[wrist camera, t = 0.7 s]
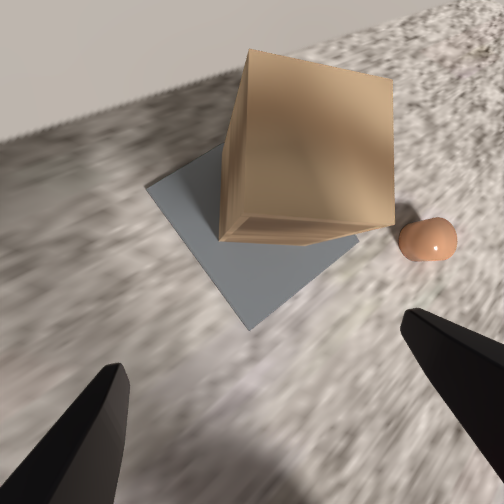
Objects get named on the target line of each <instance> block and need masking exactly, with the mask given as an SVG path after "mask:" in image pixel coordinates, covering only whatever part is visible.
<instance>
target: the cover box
mask: <svg viewBox="0 0 504 504" xmlns="http://www.w3.org/2000/svg"><path fill="white" fill-rule="evenodd" d="M391 225H395V198H394V136H393V80H392V79H387V78H383V77H378V76H373V75H369V74H364V73H359V72H355V71H350V70H346V69H341V68H336V67H332V66H327V65H323V64H318V63H313V62H309V61H304V60H299V59H295V58H290V57H286V56H281V55H276V54H272V53H267V52H262V51H257V50H253V49H249V51H248V55H247V59H246V62H245V66H244V70H243V74H242V78H241V82H240V85H239V89H238V93H237V97H236V101H235V105H234V109H233V112H232V116H231V120H230V124H229V128H228V132H227V135H226V139H225V143H224V147H223V151H222V167H221V193H220V218H219V241H222V242H240V243H258V244H276V245H294V246H307V245H311V244H315V243H320V242H324V241H328V240H332V239H337V238H341V237H345V236H349V235H353V234H358V233H362V232H366V231H370V230H375V229H379V228H383V227H387V226H391Z"/></svg>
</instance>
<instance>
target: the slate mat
mask: <svg viewBox="0 0 504 504" xmlns="http://www.w3.org/2000/svg"><path fill="white" fill-rule="evenodd" d="M224 143H225V142H224ZM224 143H222V144H220V145H219V146H217V147H215V148H214V149H212V150H210V151H209V152H207V153H205V154H204V155H202V156H200V157H199V158H197V159H195V160H194V161H192V162H190V163H189V164H187V165H185V166H184V167H182V168H180V169H179V170H177V171H175V172H174V173H172V174H170V175H169V176H167V177H165V178H163V179H162V180H160V181H158V182H157V183H155V184H153V185H152V186H150V187H148V188H147V189H146V190H147V192H148V193H149V194H150V196H151V197H152V198H153V200H154V201H155V203H156V204H157V205H158V207H159V208H160V209H161V211H162V212H163V214H164V215H165V216H166V218H167V219H168V220H169V222H170V223H171V225H172V226H173V227H174V229H175V230H176V231H177V233H178V234H179V236H180V237H181V238H182V240H183V241H184V242H185V244H186V245H187V247H188V248H189V249H190V251H191V252H192V253H193V255H194V256H195V258H196V259H197V260H198V262H199V263H200V264H201V266H202V267H203V268H204V270H205V271H206V273H207V274H208V275H209V277H210V278H211V279H212V281H213V282H214V284H215V285H216V286H217V288H218V289H219V290H220V292H221V293H222V295H223V296H224V297H225V299H226V300H227V301H228V303H229V304H230V306H231V307H232V308H233V310H234V311H235V312H236V314H237V315H238V317H239V318H240V319H241V321H242V322H243V323H244V325H245V326H246V328H247V329H248V330H249V331H250V330H251V329H253V328H254V327H255V326H256V325H258V324H259V323H260V322H261V321H262V320H264V319H265V318H266V317H267V316H269V315H270V314H271V313H272V312H274V311H275V310H276V309H277V308H278V307H280V306H281V305H282V304H283V303H285V302H286V301H287V300H288V299H289V298H291V297H292V296H293V295H294V294H296V293H297V292H298V291H299V290H301V289H302V288H303V287H304V286H305V285H307V284H308V283H309V282H310V281H312V280H313V279H314V278H315V277H316V276H318V275H319V274H320V273H321V272H323V271H324V270H325V269H326V268H328V267H329V266H330V265H331V264H332V263H334V262H335V261H336V260H337V259H339V258H340V257H341V256H342V255H343V254H345V253H346V252H347V251H348V250H350V249H351V248H352V247H353V246H355V245H356V244H357V243H358V242H359V240H358V238H357V237H356V235H355V234H353V235H349V236H345V237H341V238H337V239H332V240H328V241H324V242H320V243H315V244H311V245H307V246H294V245H276V244H258V243H240V242H222V241H219V218H220V193H221V167H222V151H223V147H224Z"/></svg>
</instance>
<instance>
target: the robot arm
mask: <svg viewBox="0 0 504 504" xmlns="http://www.w3.org/2000/svg"><path fill="white" fill-rule="evenodd" d="M400 331H401V334H402V336H403V338H404V340H405V341H406V343H407V345H408V346H409V348H410V350H411V351H412V353H413V355H414V356H415V358H416V360H417V361H418V363H419V365H420V366H421V368H422V370H423V371H424V373H425V375H426V376H427V378H428V379H429V381H430V382H431V383H432V385H433V386H434V388H435V389H436V390H437V392H438V393H439V395H440V396H441V397H442V399H443V400H444V401H445V403H446V404H447V406H448V407H449V408H450V410H451V411H452V413H453V414H454V415H455V417H456V418H457V419H458V421H459V422H460V424H461V425H462V426H463V428H464V429H465V430H466V432H467V433H468V435H469V436H470V437H471V439H472V440H473V442H474V443H475V444H476V446H477V447H478V448H479V450H480V451H481V453H482V454H483V455H484V457H485V458H486V459H487V461H488V462H489V464H490V465H491V466H492V468H493V469H494V471H495V472H496V473H497V475H498V476H499V477H500V479H501V480H502V482H503V483H504V344H502V343H499V342H497V341H495V340H492V339H490V338H488V337H485V336H483V335H481V334H479V333H476V332H474V331H472V330H469V329H467V328H465V327H462V326H460V325H458V324H455V323H453V322H451V321H449V320H446V319H444V318H442V317H439V316H437V315H435V314H432V313H430V312H428V311H425V310H423V309H421V308H413V309H408V310H406V311H405V313H404V316H403V319H402V323H401V326H400ZM129 394H130V382H129V379H128V376H127V374H126V372H125V369H124V367H123V365H122V364H121V363H113V364H108V365H105V366H104V367H103V368H102V369H101V370H100V372H99V373H98V374H97V375H96V376H95V377H94V379H93V380H92V381H91V382H90V383H89V384H88V386H87V387H86V388H85V389H84V390H83V391H82V393H81V394H80V395H79V396H78V397H77V398H76V400H75V401H74V402H73V403H72V404H71V405H70V407H69V408H68V409H67V410H66V411H65V412H64V414H63V415H62V416H61V417H60V418H59V419H58V421H57V422H56V423H55V424H54V425H53V426H52V428H51V429H50V430H49V431H48V432H47V433H46V435H45V436H44V437H43V438H42V439H41V440H40V442H39V443H38V444H37V445H36V446H35V447H34V449H33V450H32V451H31V452H30V453H29V454H28V456H27V457H26V458H25V459H24V460H23V461H22V463H21V464H20V465H19V466H18V467H17V468H16V470H15V471H14V472H13V473H12V474H11V475H10V476H9V478H8V479H7V480H6V481H5V482H4V483H3V485H2V486H1V487H0V504H113V502H114V497H115V492H116V487H117V482H118V477H119V472H120V467H121V462H122V457H123V451H124V445H125V436H126V426H127V415H128V404H129Z"/></svg>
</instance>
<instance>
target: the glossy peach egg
mask: <svg viewBox="0 0 504 504" xmlns="http://www.w3.org/2000/svg"><path fill="white" fill-rule="evenodd" d="M399 246H400V249H401V251H402V253H403V255H404V256H405V257H406V258H408V259H409V260H411V261H415V262H418V261H438V260H446V259H448V258H450V257H451V256H452V255H453V254H454V252H455V250H456V247H457V234H456V231H455V229H454V227H453V226H452V224H451V223H450V222H449V221H447V220H446V219H444V218H439V217H436V218H431V219H427V220H423V221H418V222H414V223H410V224H407V225H406V226H405V227H404V228H403V229H402V230H401V232H400V235H399Z"/></svg>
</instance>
